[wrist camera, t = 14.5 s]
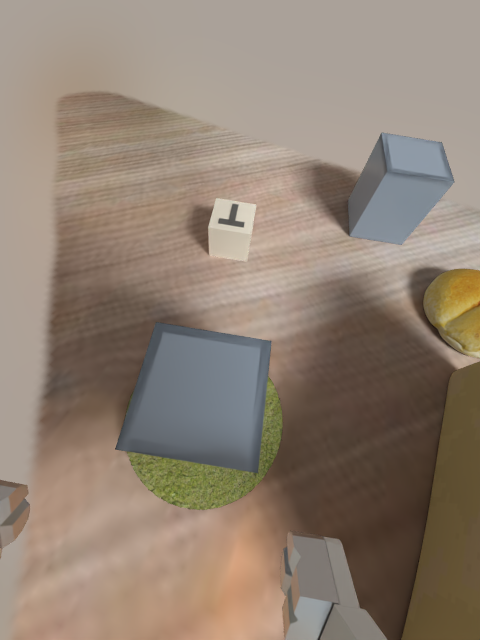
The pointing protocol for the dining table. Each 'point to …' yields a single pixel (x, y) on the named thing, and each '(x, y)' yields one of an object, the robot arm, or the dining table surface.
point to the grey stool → (199, 398)
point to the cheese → (452, 524)
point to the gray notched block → (398, 188)
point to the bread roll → (456, 309)
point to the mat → (210, 469)
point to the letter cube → (231, 229)
